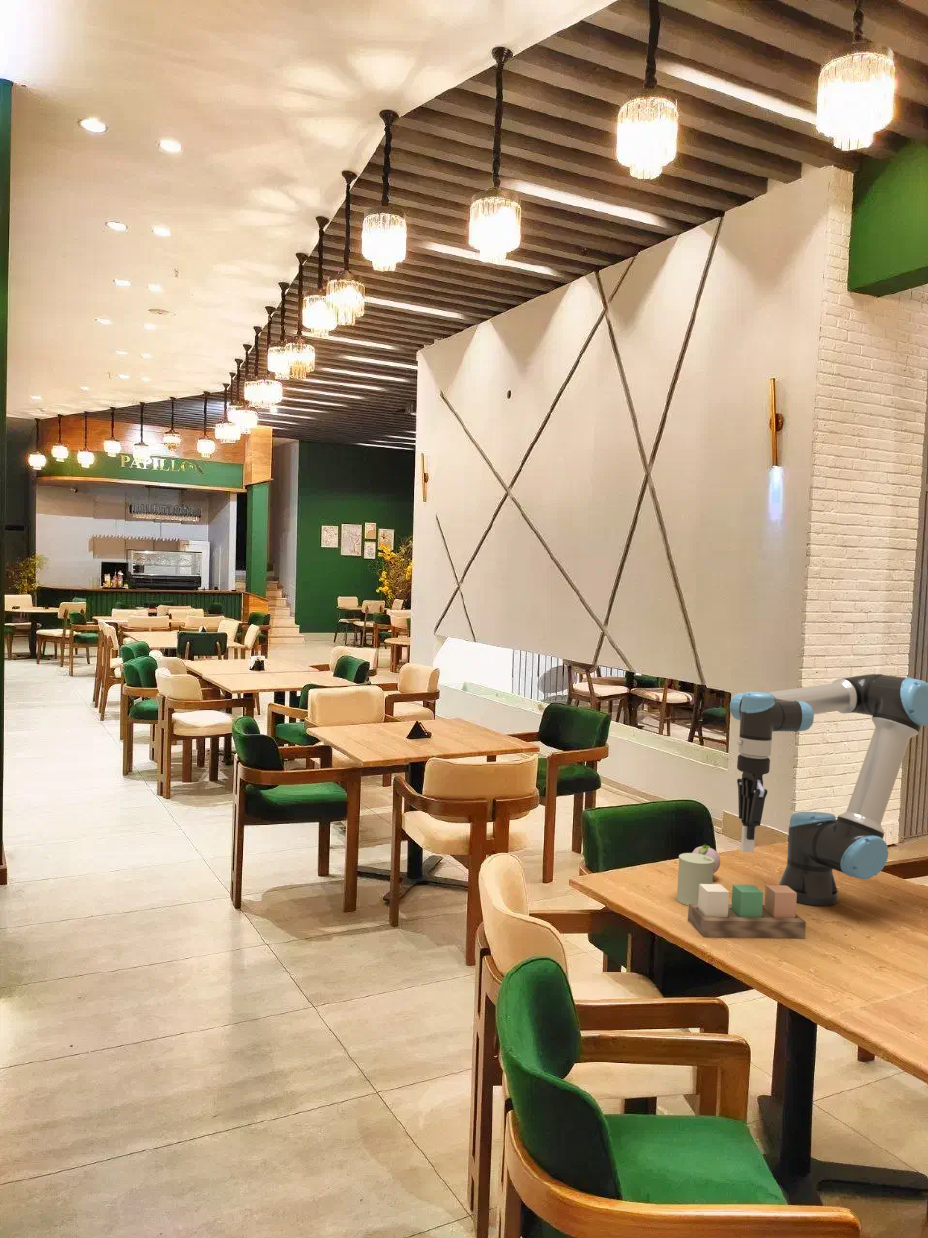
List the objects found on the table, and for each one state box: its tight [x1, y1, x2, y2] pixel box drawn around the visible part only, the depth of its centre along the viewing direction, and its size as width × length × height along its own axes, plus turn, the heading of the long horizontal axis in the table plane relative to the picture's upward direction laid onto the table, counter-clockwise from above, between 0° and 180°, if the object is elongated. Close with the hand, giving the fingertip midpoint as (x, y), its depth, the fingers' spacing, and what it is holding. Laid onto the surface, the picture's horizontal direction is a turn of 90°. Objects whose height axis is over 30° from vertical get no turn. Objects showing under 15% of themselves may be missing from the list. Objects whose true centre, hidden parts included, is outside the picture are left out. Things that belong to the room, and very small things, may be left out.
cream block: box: [698, 883, 730, 917], centre depth 215 cm, size 5×5×7 cm
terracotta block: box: [764, 884, 797, 918], centre depth 216 cm, size 5×5×7 cm
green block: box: [730, 884, 764, 918], centre depth 215 cm, size 5×5×7 cm
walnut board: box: [687, 904, 807, 939], centre depth 216 cm, size 25×11×4 cm, turn 95°
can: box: [675, 852, 714, 907], centre depth 234 cm, size 9×9×12 cm
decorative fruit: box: [691, 843, 721, 875], centre depth 254 cm, size 9×8×10 cm
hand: (747, 851), depth 216 cm, fingers closed
